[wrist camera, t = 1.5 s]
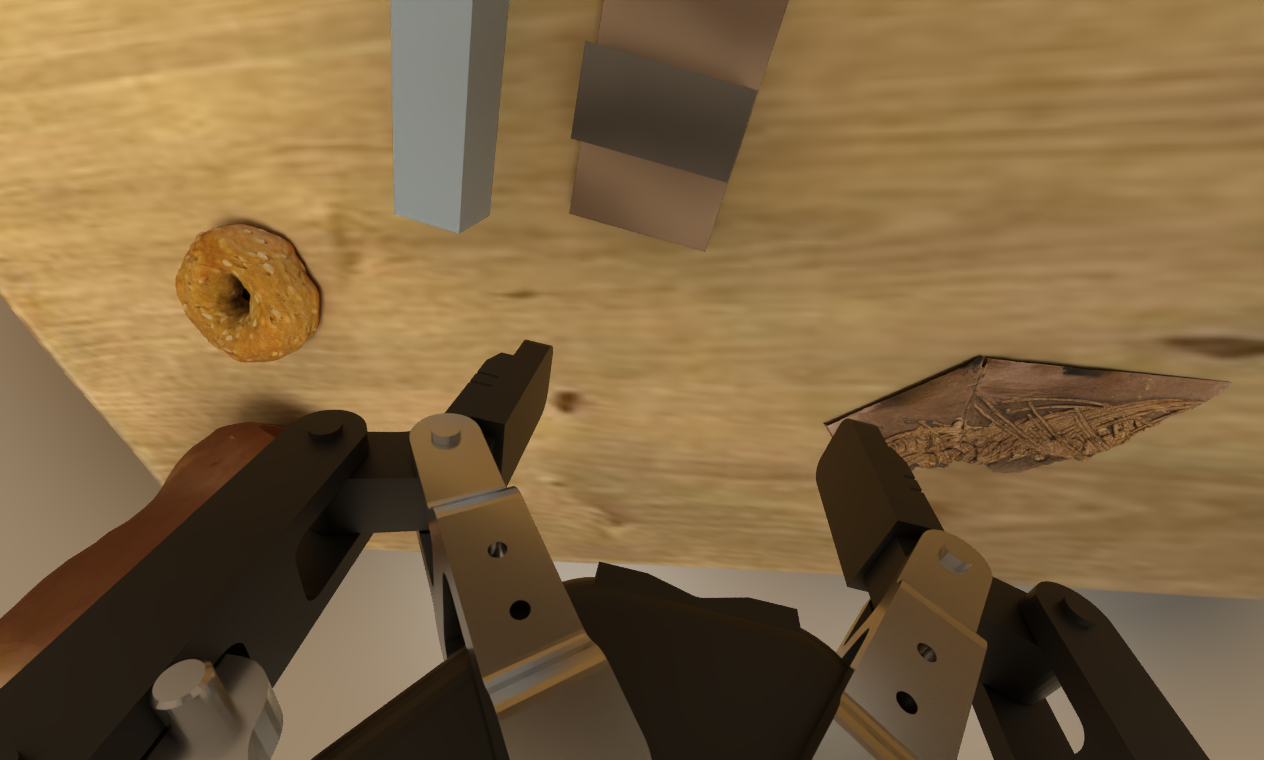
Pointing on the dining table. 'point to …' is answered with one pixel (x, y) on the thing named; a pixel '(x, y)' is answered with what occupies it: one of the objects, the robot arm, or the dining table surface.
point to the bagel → (271, 278)
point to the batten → (446, 107)
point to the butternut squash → (125, 544)
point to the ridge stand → (668, 111)
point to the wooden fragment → (1027, 413)
